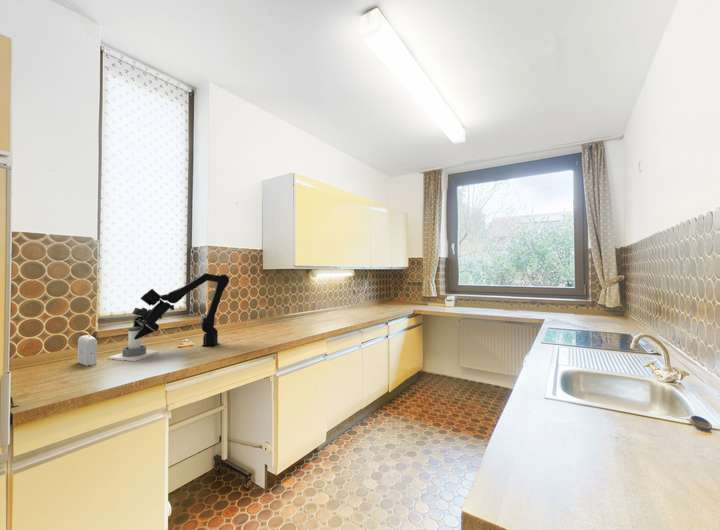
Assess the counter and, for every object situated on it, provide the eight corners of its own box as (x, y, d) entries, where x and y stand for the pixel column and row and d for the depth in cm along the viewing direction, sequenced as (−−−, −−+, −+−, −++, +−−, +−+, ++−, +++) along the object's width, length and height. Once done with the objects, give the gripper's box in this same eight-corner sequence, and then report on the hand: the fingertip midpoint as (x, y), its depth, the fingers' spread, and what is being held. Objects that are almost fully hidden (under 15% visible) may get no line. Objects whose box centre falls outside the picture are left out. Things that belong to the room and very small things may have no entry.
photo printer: (98, 364, 139) (98, 335, 139) (86, 366, 136) (86, 337, 136) (87, 360, 144) (88, 333, 144) (75, 362, 141) (76, 334, 141)
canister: (144, 352, 154) (144, 326, 154) (134, 355, 149) (134, 329, 149) (134, 352, 155) (135, 326, 155) (125, 355, 150) (125, 328, 150)
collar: (158, 352, 157) (159, 344, 157) (133, 361, 144) (134, 352, 144) (134, 351, 160) (134, 343, 160) (108, 359, 146) (108, 350, 146)
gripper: (138, 299, 161) (111, 324, 152) (152, 303, 149) (123, 330, 141) (155, 313, 167) (130, 338, 158) (170, 317, 155) (143, 344, 147)
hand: (131, 337), depth 151 cm, fingers open, 9 cm apart
